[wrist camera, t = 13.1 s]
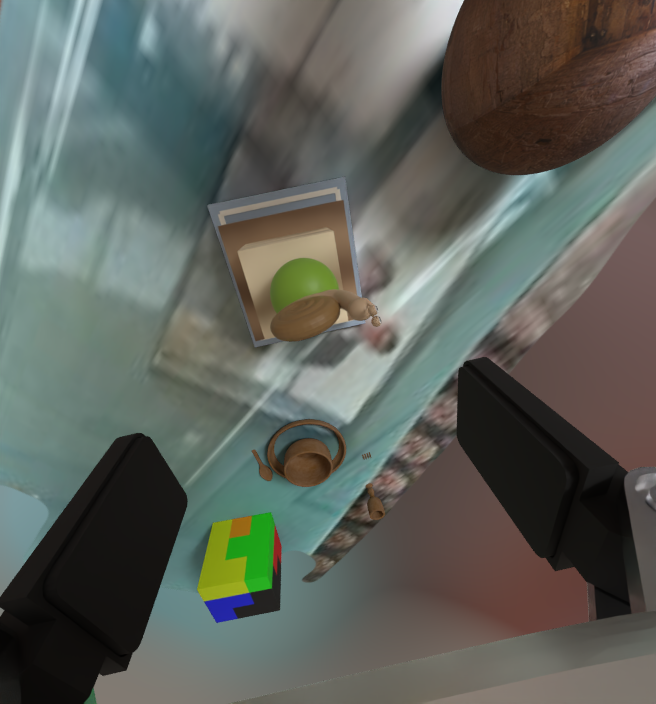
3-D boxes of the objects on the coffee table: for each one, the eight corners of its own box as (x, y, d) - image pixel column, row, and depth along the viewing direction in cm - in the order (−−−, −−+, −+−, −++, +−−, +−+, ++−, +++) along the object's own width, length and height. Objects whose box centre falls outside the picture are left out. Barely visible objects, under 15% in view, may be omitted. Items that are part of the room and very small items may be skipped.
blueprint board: (208, 205, 30) (206, 205, 29) (343, 176, 30) (345, 176, 29) (255, 344, 37) (254, 347, 36) (363, 320, 38) (365, 323, 37)
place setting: (351, 398, 43) (360, 424, 38) (380, 485, 52) (391, 516, 47) (239, 435, 44) (232, 466, 39) (287, 514, 53) (287, 548, 48)
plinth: (223, 224, 30) (203, 230, 23) (338, 200, 30) (353, 198, 23) (258, 331, 36) (250, 362, 29) (355, 309, 36) (371, 335, 29)
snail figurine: (352, 298, 27) (394, 359, 16) (287, 323, 27) (285, 400, 17) (332, 238, 24) (366, 264, 14) (261, 267, 25) (239, 314, 14)
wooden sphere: (577, 123, 31) (800, 60, 17) (447, 210, 33) (555, 214, 20) (545, -71, 24) (861, -410, 11) (386, 54, 26) (485, -99, 13)
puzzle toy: (228, 555, 55) (216, 622, 47) (213, 522, 51) (197, 589, 42) (281, 545, 56) (279, 610, 47) (271, 512, 52) (267, 576, 43)
